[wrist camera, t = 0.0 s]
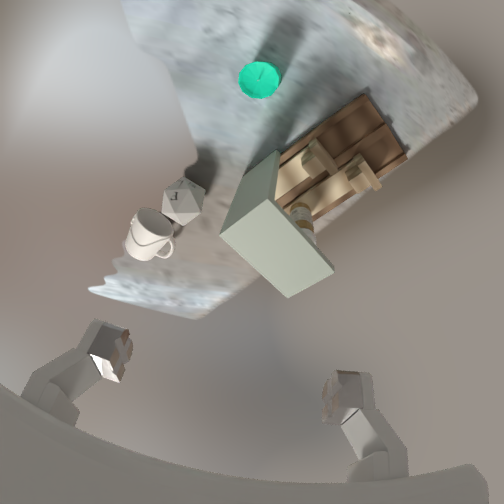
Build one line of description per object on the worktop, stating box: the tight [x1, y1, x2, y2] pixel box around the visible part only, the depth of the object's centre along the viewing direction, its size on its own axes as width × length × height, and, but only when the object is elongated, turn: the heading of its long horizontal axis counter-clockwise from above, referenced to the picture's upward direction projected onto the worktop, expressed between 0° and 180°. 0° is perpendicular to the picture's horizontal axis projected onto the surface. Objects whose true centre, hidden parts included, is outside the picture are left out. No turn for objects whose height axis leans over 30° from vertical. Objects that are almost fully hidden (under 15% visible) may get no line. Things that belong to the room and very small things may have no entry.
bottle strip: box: [282, 153, 382, 216], centre depth 54 cm, size 20×6×6 cm, turn 133°
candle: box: [238, 61, 282, 99], centre depth 41 cm, size 6×6×12 cm
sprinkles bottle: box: [289, 202, 316, 245], centre depth 54 cm, size 5×4×14 cm
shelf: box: [219, 149, 335, 298], centre depth 51 cm, size 9×15×22 cm, turn 43°
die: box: [161, 176, 205, 226], centre depth 58 cm, size 8×9×10 cm
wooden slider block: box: [275, 138, 339, 201], centre depth 52 cm, size 15×6×6 cm, turn 133°
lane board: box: [276, 94, 408, 221], centre depth 54 cm, size 29×15×2 cm, turn 133°
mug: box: [125, 208, 176, 261], centre depth 66 cm, size 12×9×8 cm
